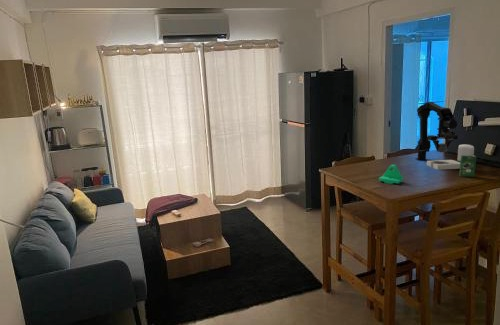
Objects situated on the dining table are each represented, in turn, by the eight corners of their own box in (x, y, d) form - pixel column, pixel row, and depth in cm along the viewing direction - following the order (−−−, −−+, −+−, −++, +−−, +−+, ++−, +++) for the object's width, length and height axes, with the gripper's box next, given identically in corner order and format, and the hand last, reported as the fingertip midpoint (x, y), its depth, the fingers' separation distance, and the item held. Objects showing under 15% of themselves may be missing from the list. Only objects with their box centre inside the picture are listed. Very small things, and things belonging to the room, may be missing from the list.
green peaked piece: (378, 182, 226) (379, 165, 223) (383, 179, 231) (383, 163, 229) (398, 185, 218) (399, 168, 216) (402, 182, 224) (403, 165, 221)
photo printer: (456, 160, 271) (457, 144, 268) (458, 159, 273) (460, 143, 271) (471, 162, 263) (473, 145, 260) (474, 161, 265) (475, 144, 263)
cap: (434, 150, 256) (435, 143, 255) (443, 150, 256) (443, 143, 255) (439, 152, 250) (440, 145, 249) (448, 151, 250) (449, 144, 249)
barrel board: (426, 165, 262) (426, 160, 261) (451, 163, 263) (451, 159, 262) (437, 169, 248) (437, 165, 248) (463, 168, 249) (464, 164, 248)
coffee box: (473, 175, 231) (475, 155, 228) (474, 177, 228) (476, 156, 225) (458, 175, 232) (460, 155, 230) (460, 176, 230) (462, 156, 227)
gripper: (436, 129, 241) (434, 152, 244) (464, 127, 242) (462, 151, 245) (427, 127, 252) (425, 149, 255) (454, 125, 253) (452, 148, 256)
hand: (441, 149), depth 253 cm, fingers closed on cap, 6 cm apart
